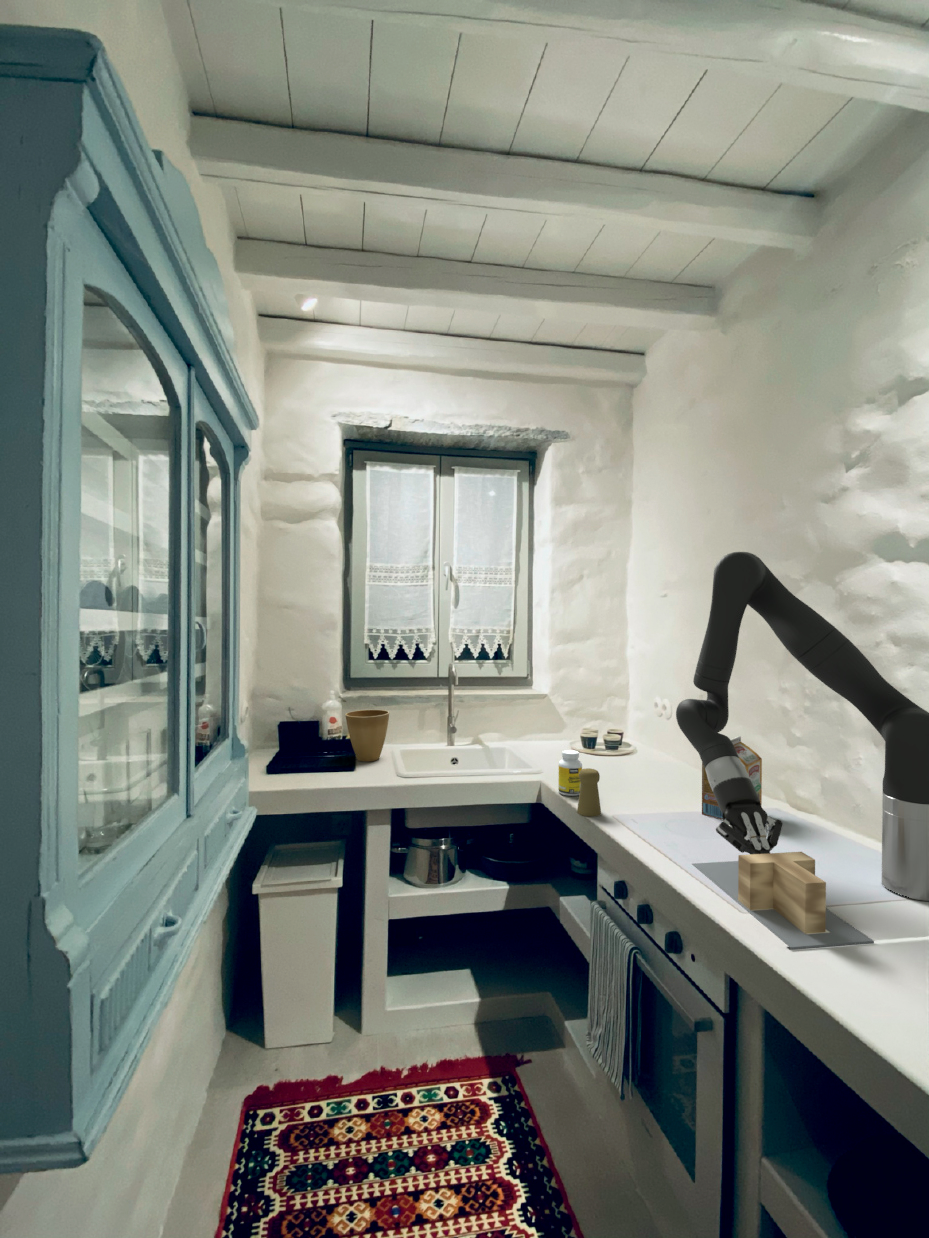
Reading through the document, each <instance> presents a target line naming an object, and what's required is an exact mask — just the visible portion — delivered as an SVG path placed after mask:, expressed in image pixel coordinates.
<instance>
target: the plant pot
mask: <svg viewBox="0 0 929 1238" xmlns="http://www.w3.org/2000/svg"><path fill="white" fill-rule="evenodd" d="M389 718H390V711H388V710H385V709H384V710H383V709H360V710H354V711H353V710H352V711H349V712H347V713H345V721H346V726H347V732H348V735H349V739H350V742H351V747H352V749H353V752H354V755H355V754H356V755H355V757H356V759H357V761H360V762H367V763H368V762H374V761H378V760H379V759H380V757H381V754H382V752H383V748H384V744H385V741H386V738H387V732H388V728H389V727H388V725H389Z"/></svg>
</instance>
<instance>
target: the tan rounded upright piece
mask: <svg viewBox="0 0 929 1238" xmlns="http://www.w3.org/2000/svg"><path fill="white" fill-rule="evenodd" d="M600 777H601V776H600V772H599V771H598V769H595V768H589V767H588V768H582V770H581V771H580V772H579V780H580V781H581V787H580V794H579V795H578V802H577V803H578V804H577V809H576V811H577V812H576V813H577V814H578V815H580V816H583V817H590V818H591V817H598V816H601V815H602V809H601V808H602V807H601V800H600V793H599V786H598V783H599V782H600Z"/></svg>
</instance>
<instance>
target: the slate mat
mask: <svg viewBox="0 0 929 1238" xmlns="http://www.w3.org/2000/svg"><path fill="white" fill-rule="evenodd" d="M691 865H692V866H693V867H694V868H695V869H696V870H698V871H699V872H700V873H702V875H704V876H705V877H706V878H707V879H709V880H710V881H711V882H712V883H714V885H716V887H718V888H719V889H720V890H721V891H723V892H724V893H725V894H726V895H727V896H729V898H731V899H732V900H733V901H735V902H736V903H737V904H738V905H739V906H740V907H742V908H743V909H744V910H746V912H748V914H750V915H751V916H753V918H755V919H756V920H757V921H758V922H759V923H761V924H762V925H763V927H765V928H767V929H768V930H769V931H770V932H771V933H772V934H774V935H775V937H777V938H778V939H779V940H780V941H782V942H783V944H786V945H787V946H786V948H787V949H789V950H790V951H792V950H793V951H794V950H805V949H807V950H808V949H819V948H831V947H840V946H854V945H857V946H858V945H868V944H869V945H870V944H874V943H875V940H873V939H872V938H871V937H869V936H868V935H866V934H864V933H863V932H862V931H861V930H859V929H857V928H856V927H855V926H853V925H852V924H850V923H849V922H847V921H846V920H844V919H843V918H841V917H840V916H839V915H837V914H836V913H834V912H833V911H831V910H830V909H829V908H827V907H826V924H825V932H821V933H807V934H805V933H804V932H802V931H801V930H800V929H799V928H797V927H796V926H795V925H793V924H792V923H791V922H790V921H788V920H787V919H786V918H785V917H783V916H782V915H781V914H779V913H778V912H777V911H776V910H774V909H758V910H749V909H748V908H747V907H746V906H745V905H743V904H742V903H741V902H740V901H739V900H738V860H732V861H715V862H714V861H713V862H700V863H699V862H697V863H691Z"/></svg>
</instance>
